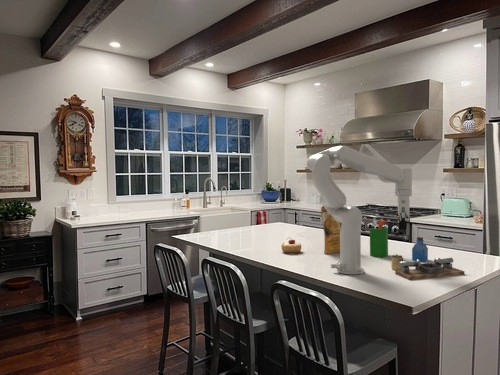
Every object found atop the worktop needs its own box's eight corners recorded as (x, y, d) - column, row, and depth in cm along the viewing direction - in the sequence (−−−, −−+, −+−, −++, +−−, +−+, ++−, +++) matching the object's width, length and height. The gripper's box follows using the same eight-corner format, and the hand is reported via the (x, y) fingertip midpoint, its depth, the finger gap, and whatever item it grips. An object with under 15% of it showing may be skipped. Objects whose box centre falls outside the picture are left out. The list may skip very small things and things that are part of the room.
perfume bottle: (415, 258, 209) (415, 236, 209) (427, 259, 206) (427, 237, 205) (412, 260, 205) (412, 238, 204) (424, 262, 201) (424, 239, 200)
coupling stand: (408, 279, 169) (408, 270, 169) (395, 274, 179) (395, 265, 179) (464, 274, 176) (464, 265, 176) (448, 269, 186) (448, 260, 186)
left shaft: (416, 273, 179) (416, 258, 179) (421, 275, 175) (421, 260, 175) (398, 274, 179) (398, 259, 178) (402, 276, 175) (402, 261, 174)
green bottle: (376, 252, 224) (376, 218, 223) (391, 255, 218) (391, 219, 217) (367, 255, 217) (367, 220, 216) (382, 258, 211) (382, 221, 210)
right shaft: (441, 274, 178) (441, 258, 177) (433, 271, 181) (433, 257, 181) (454, 271, 181) (454, 256, 181) (447, 269, 185) (447, 255, 185)
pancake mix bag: (317, 253, 225) (316, 205, 224) (336, 248, 238) (336, 203, 236) (326, 255, 220) (326, 206, 219) (346, 250, 233) (345, 204, 231)
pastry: (300, 255, 223) (300, 240, 223) (280, 254, 226) (280, 239, 225) (302, 250, 235) (302, 236, 234) (282, 249, 238) (282, 235, 237)
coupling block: (403, 270, 185) (403, 256, 185) (392, 269, 187) (392, 256, 186) (402, 267, 190) (402, 254, 190) (391, 267, 191) (391, 254, 191)
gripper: (412, 194, 178) (411, 230, 179) (411, 192, 195) (410, 225, 195) (395, 193, 181) (394, 229, 182) (395, 191, 197) (394, 225, 198)
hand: (402, 227), depth 188 cm, fingers open, 9 cm apart
